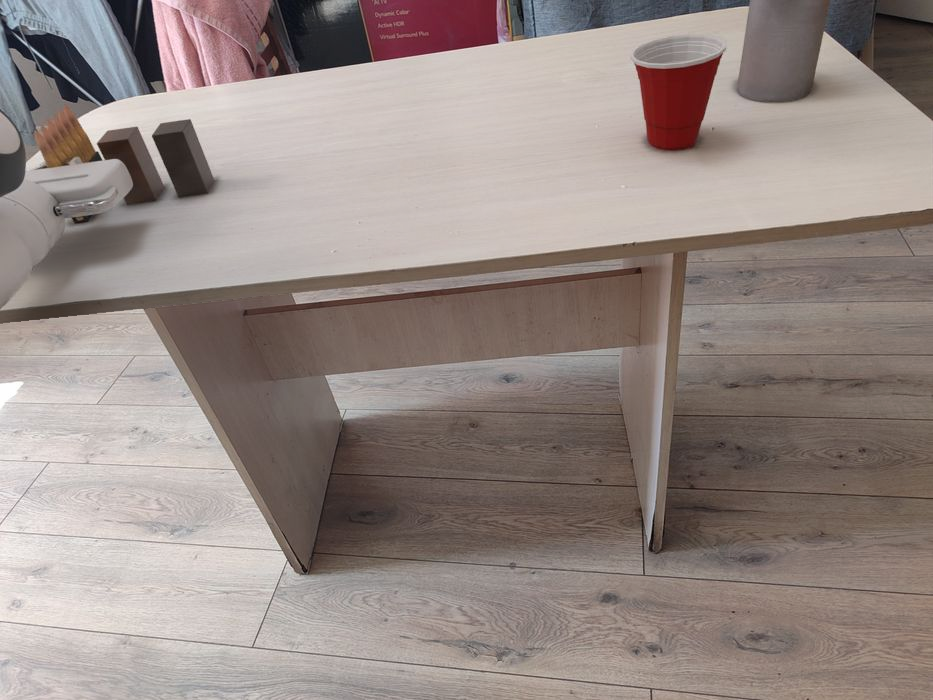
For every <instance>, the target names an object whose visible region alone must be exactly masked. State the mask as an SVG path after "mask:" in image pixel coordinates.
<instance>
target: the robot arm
mask: <svg viewBox="0 0 933 700" xmlns="http://www.w3.org/2000/svg"><path fill="white" fill-rule="evenodd" d="M102 160H103V161H96V162H88V163H83V162H82V160H81V159H80V157H73V158H67V159H66V160H65V161H64V162H63V165H64V166H60V167H53V168H47V165H46V162H45V161H42V163H40V164H39V166H36V167H33V168H30V169H29V170H27V155H26V148H25V143H24V140H23V137H22V135H21V132H20V131H19V129H18V127H17V125H16V123H14V121H13V120H12V119H11V118H10V117H9V116H8V115H7V114H6V112H4V111H3V110H2V109H1V108H0V310H1V309H2V308H4V306H6V304H8V303H9V301H11V299H12V298H13V297H14V296H15V295H16V294H17V293H18V291H20V289H21V288H22V287H23V286H24V284H25V283H26V282H27V281H28V279H29V278H30V276H31V273H32V272H33V267H35V266H37V265H38V264H40V263H41V261H43V260H44V259H45V258H46V256H47V255H48V253H50V250H51V249H52V248H53V247H54V246H55V244H56V243H57V242H58V241H59V239H60V238H61V237H62V235H63V233H64V231H65V227H66V219H72V217H80V216H87V215H93V216H94V215H98V214H103V213H106V212H108V211H110V210H111V209H113V208H115V207H116V206H117V205H118V204H119V203H120V202H122V200H124V197H125V196H126V195H127V194H128V193H129V191H130V190H131V189H132V187H133V182H132V179H131V176H130V174H129V172H128V170H127V168H126V166H125V165H124V163H123V162H122V161H120V160H119V159H110V160H105V159H102Z"/></svg>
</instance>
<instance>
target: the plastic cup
mask: <svg viewBox="0 0 933 700" xmlns="http://www.w3.org/2000/svg"><path fill="white" fill-rule="evenodd" d="M727 47H728V41H727V39H725V38H723V37H722V36H720V35H716V34H710V33H683V34H674V35H673V34H671V35H668V36H664V37H659V38H655V39H652V40H649V41H647V42H644V43H641V44H639V45H638V46H636V47H635V48H633V49H632V50H631V52H630V55H629V57H630V60H631V62H633V64H634V66H635V70H636V71H635V72H637V77H638V80H639V88H640V94H641V101H642V102H641V103H642V111H643V118H644V121H645V129H646V139H647V142H648V143H649V145H650V146H651V147H653V148H654V149H656V150H661V151H670V152H671V151H675V152H676V151H682V150H686V149H688V148H690V149H692V148H693V147H694V146H695V145H696V142H697V140H698V137H699V134H700V130H701V126H702V123H703V121H704V119H705V115H706V112H707V108H708V104H709V100H710V96H711V93H712V89H713V85H714V81H715V78H716V76H717V74H718V68H719V66H720V63H721V59H722V57H723V55H724V53H725V52H727V51H726V50H727Z"/></svg>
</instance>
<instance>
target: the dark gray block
mask: <svg viewBox="0 0 933 700" xmlns="http://www.w3.org/2000/svg"><path fill="white" fill-rule="evenodd" d="M151 138H152V140H153V142H154V144H155V147H156V149H157V151H158V153H159V156H160V158H161V160H162V163H163V165H164V168H165V170H166V172H167V174H168V177H169V179H170V182H171V183H172V185H173V188H174V190H175V192H176V195H177V197H178V199H179V198H186V197H193V196H194V197H195V196H200V195H201V196H202V195H208V194H209V192H210V190H211V189H212V186H213V184H214V182H215V178H214V175H213V173H212V170H211V168H210V165H209V163H208V160H207V158H206V154H205V152H204V150H203V147H202V145H201V142H200V139H199V137H198V135H197V132H196V129H195V126H194V124H193V122H192V119H190V118H188V119H181V120H173V121H165V122H161V123H159V124H158V126H157V127H156V129H155V130H154V132H153V133H152V134H151Z"/></svg>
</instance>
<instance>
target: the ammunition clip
mask: <svg viewBox="0 0 933 700" xmlns="http://www.w3.org/2000/svg"><path fill="white" fill-rule="evenodd" d="M57 114H58V116H57V115H56V114H55V113H52V114H51V118H52V121H51V120H50V119H46V126H44V125H43V124H40V132H41V133H40V132H38V130H36V129H35V130H34V132H33V133H34V139H35V142H36V145H37V147H38V149H39V151H40V153H41V156H42V157H43V160H44V162H46V165H47V168H53V167H60V166H64V165H63V162H64V161H65V160H66V159H67V158H73V157H80V159H81V160H82V162H83V163H88V162H96V161H103V160H104V159H103V157H102V156H101V154H100V151H98V150H97V151H96V149H95V147H94V145H93V143H92V141H91V140H90V137H89V136H88V133H87V132H86V131H85V130H84V128H83V127H82V125H81V123H80V122H79V119H78V118H77V116H76V115H75V112H74V111H73V110H72V109H71V108H70V106H69V105H67V103H63V110H62V109H60V108H57ZM93 216H94V215H87V216H80V217H72V218H71V220H72V222H73V224H77V223H79V224H80V223H85V222H89V221H90V220H91V219H92V217H93Z"/></svg>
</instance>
